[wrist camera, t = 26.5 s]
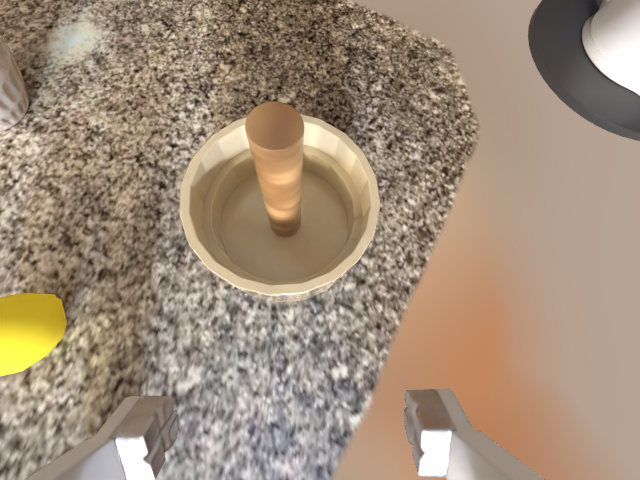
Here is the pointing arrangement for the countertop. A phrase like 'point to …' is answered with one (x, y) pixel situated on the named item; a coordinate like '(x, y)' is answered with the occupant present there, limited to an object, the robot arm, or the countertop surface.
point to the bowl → (253, 223)
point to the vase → (11, 89)
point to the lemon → (29, 329)
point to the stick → (278, 162)
